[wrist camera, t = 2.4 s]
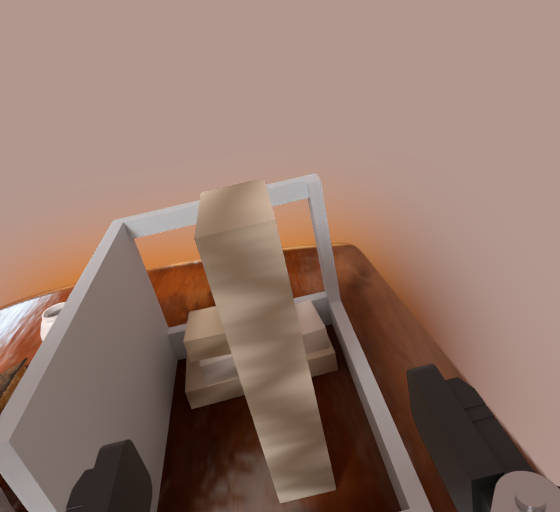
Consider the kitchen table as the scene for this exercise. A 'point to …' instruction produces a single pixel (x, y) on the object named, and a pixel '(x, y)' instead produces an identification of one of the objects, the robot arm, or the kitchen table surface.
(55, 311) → the white jar
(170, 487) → the kitchen table surface
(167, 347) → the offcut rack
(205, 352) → the offcut stack
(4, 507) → the coffee box
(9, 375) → the shard
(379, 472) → the kitchen table surface
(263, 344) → the tan wooden block
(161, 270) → the kitchen table surface
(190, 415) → the kitchen table surface
